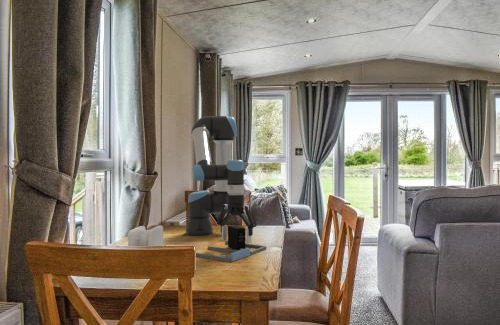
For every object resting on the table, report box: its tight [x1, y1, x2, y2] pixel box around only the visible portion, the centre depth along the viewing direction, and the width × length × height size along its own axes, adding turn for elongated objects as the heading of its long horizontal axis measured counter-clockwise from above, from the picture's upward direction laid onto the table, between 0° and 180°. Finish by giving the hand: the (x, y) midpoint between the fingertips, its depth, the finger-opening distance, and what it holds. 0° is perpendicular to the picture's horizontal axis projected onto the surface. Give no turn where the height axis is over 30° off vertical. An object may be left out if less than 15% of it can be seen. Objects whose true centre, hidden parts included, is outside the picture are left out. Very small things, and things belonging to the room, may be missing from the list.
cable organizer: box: [126, 225, 164, 247], centre depth 165 cm, size 15×11×12 cm
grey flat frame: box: [195, 240, 267, 263], centre depth 168 cm, size 27×23×3 cm
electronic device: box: [227, 224, 247, 250], centre depth 174 cm, size 4×10×10 cm, turn 27°
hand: (236, 241), depth 174 cm, fingers open, 13 cm apart
